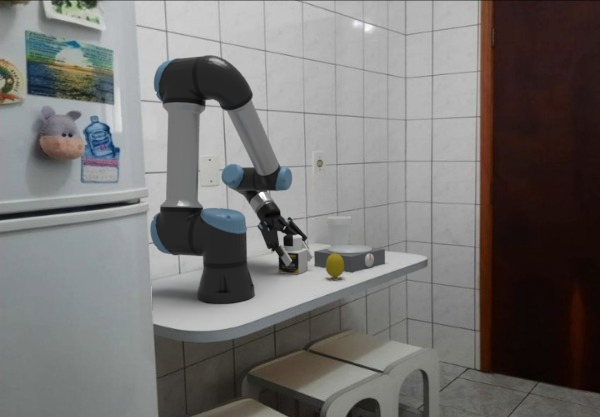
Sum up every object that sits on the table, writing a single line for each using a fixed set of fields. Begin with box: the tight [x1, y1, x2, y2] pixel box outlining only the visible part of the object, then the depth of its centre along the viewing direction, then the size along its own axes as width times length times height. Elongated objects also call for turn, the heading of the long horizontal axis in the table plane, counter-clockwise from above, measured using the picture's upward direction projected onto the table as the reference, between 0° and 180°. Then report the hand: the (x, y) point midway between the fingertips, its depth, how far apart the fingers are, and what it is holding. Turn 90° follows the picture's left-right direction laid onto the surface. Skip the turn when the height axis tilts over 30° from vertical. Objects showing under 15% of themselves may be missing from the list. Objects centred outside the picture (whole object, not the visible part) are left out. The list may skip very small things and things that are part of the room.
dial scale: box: [313, 243, 386, 273], centre depth 181 cm, size 18×17×6 cm
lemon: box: [325, 253, 345, 280], centre depth 161 cm, size 6×6×8 cm
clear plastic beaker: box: [326, 215, 352, 247], centre depth 209 cm, size 10×9×13 cm
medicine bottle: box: [278, 234, 309, 275], centre depth 172 cm, size 7×7×12 cm
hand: (300, 261), depth 170 cm, fingers closed on medicine bottle, 9 cm apart
